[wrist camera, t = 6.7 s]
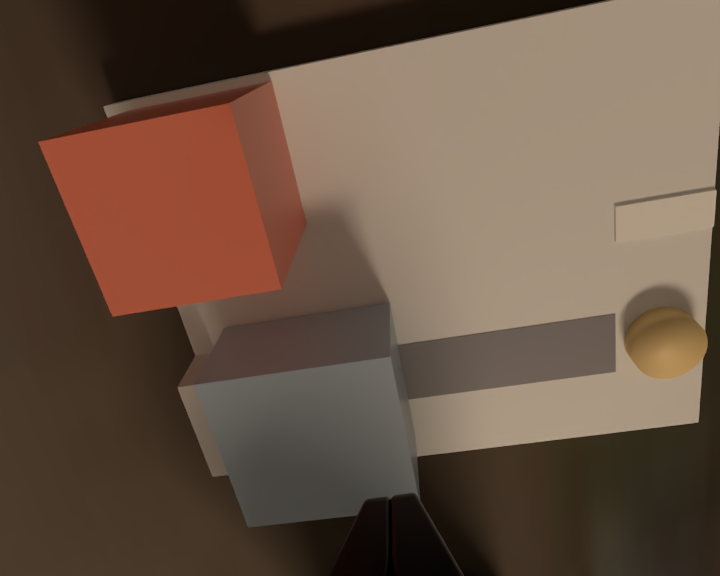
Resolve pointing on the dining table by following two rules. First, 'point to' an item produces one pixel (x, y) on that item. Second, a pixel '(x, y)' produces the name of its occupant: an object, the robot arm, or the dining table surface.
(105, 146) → the cap
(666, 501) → the dining table surface
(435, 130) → the panel
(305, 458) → the breaker toggle
